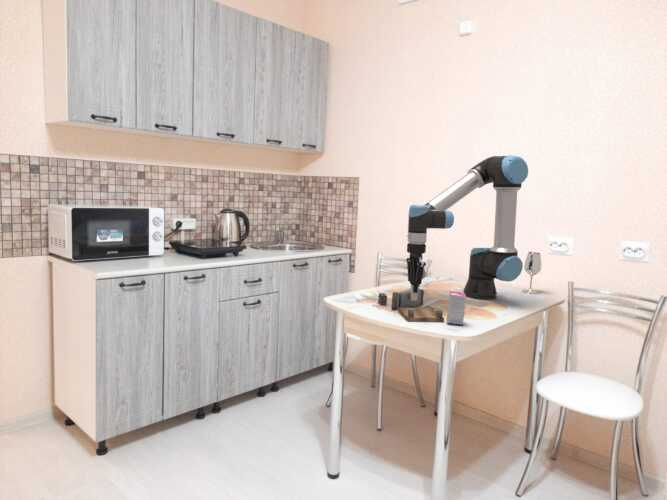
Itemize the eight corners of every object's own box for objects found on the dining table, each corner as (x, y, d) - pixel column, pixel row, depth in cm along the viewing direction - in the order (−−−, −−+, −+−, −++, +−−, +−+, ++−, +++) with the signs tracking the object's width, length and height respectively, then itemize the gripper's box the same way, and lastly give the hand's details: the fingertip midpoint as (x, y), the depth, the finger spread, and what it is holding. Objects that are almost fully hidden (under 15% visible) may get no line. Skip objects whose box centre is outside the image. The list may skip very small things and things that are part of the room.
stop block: (383, 302, 215) (384, 293, 215) (386, 305, 210) (387, 296, 210) (378, 302, 215) (378, 293, 214) (380, 305, 210) (381, 295, 210)
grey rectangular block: (400, 308, 204) (401, 294, 203) (394, 307, 207) (395, 292, 206) (422, 304, 214) (423, 290, 213) (417, 302, 216) (418, 288, 215)
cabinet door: (429, 309, 207) (430, 292, 206) (443, 322, 189) (445, 304, 188) (390, 308, 205) (392, 292, 204) (402, 321, 187) (403, 303, 186)
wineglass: (521, 292, 250) (525, 252, 247) (521, 289, 257) (526, 251, 254) (538, 294, 247) (542, 254, 244) (538, 291, 254) (542, 252, 252)
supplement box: (463, 326, 185) (466, 295, 184) (447, 324, 187) (449, 294, 185) (462, 321, 191) (465, 292, 189) (446, 320, 192) (449, 290, 191)
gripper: (401, 241, 210) (398, 297, 212) (415, 244, 197) (412, 303, 200) (418, 241, 212) (415, 296, 215) (432, 244, 200) (429, 303, 202)
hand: (413, 299), depth 207 cm, fingers closed
